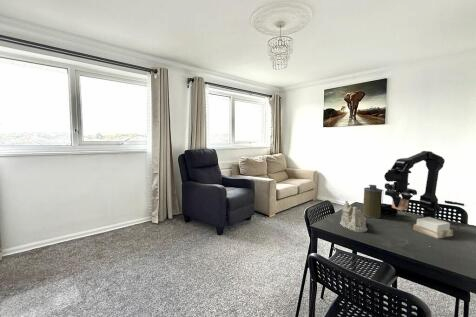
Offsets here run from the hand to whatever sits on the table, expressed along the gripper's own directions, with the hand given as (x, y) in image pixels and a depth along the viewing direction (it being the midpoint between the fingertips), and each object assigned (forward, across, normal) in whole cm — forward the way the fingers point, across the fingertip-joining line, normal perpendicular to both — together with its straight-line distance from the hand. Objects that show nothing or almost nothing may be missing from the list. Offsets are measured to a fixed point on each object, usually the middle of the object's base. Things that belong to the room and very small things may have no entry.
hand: (399, 206), depth 138 cm
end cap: (+11, -9, -14) cm, 20 cm away
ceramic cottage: (+11, +27, -5) cm, 30 cm away
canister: (+10, +3, -16) cm, 19 cm away
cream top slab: (+7, -5, +15) cm, 17 cm away
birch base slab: (+11, -5, +15) cm, 19 cm away
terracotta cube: (+1, 0, 0) cm, 1 cm away
